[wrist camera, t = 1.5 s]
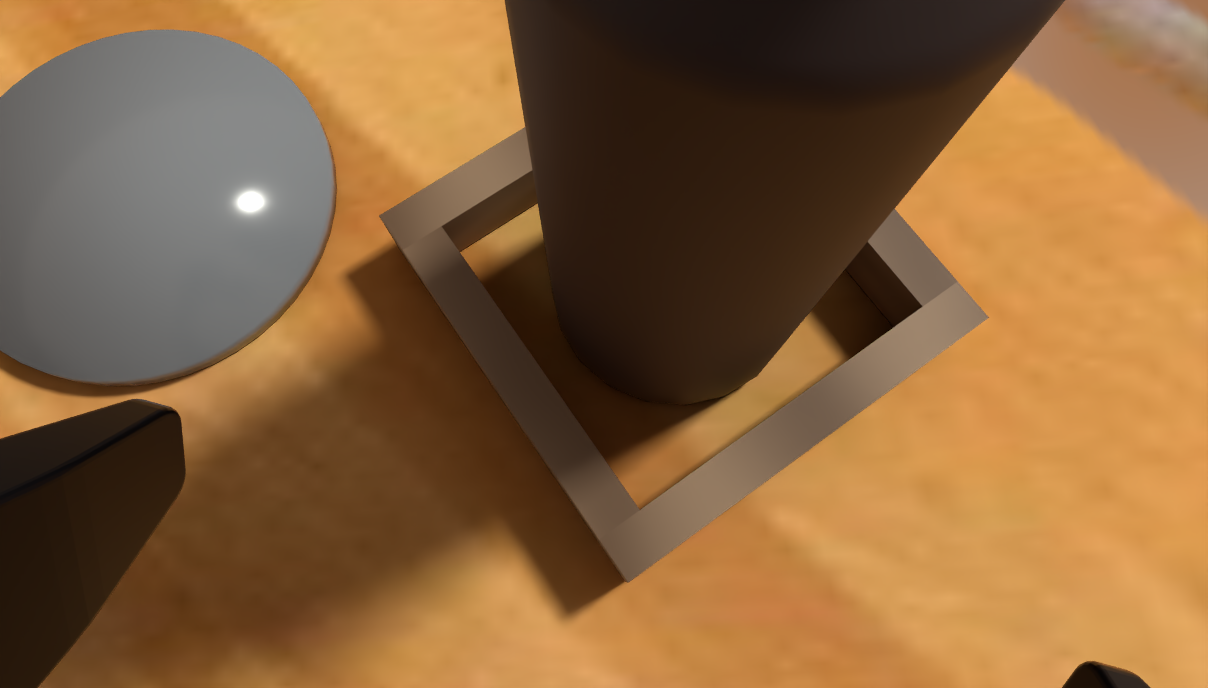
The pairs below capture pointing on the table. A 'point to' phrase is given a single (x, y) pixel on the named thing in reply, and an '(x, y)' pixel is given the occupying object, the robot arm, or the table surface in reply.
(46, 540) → the robot arm
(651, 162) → the vinegar
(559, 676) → the table surface
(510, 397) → the bottle caddy
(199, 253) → the slate coaster
